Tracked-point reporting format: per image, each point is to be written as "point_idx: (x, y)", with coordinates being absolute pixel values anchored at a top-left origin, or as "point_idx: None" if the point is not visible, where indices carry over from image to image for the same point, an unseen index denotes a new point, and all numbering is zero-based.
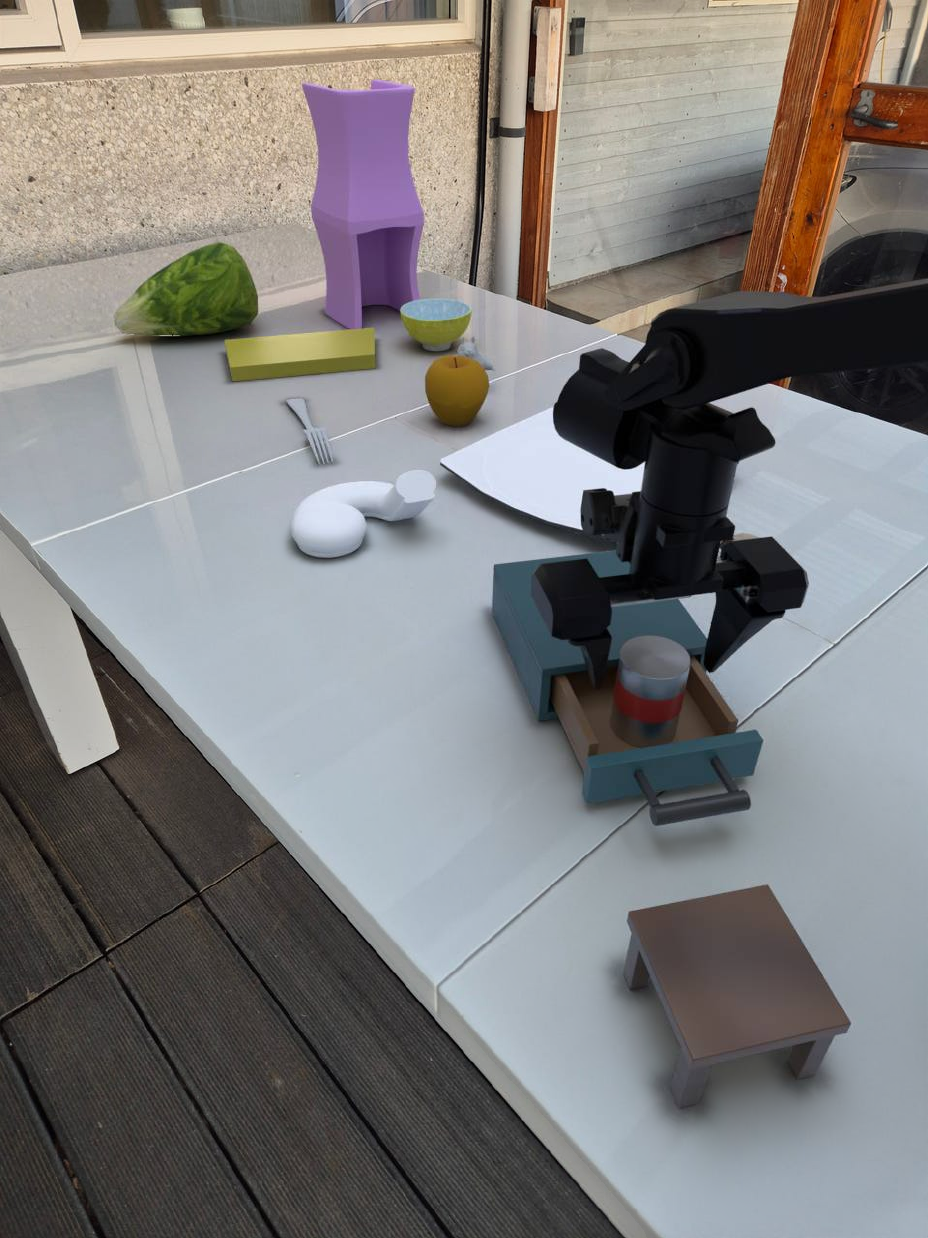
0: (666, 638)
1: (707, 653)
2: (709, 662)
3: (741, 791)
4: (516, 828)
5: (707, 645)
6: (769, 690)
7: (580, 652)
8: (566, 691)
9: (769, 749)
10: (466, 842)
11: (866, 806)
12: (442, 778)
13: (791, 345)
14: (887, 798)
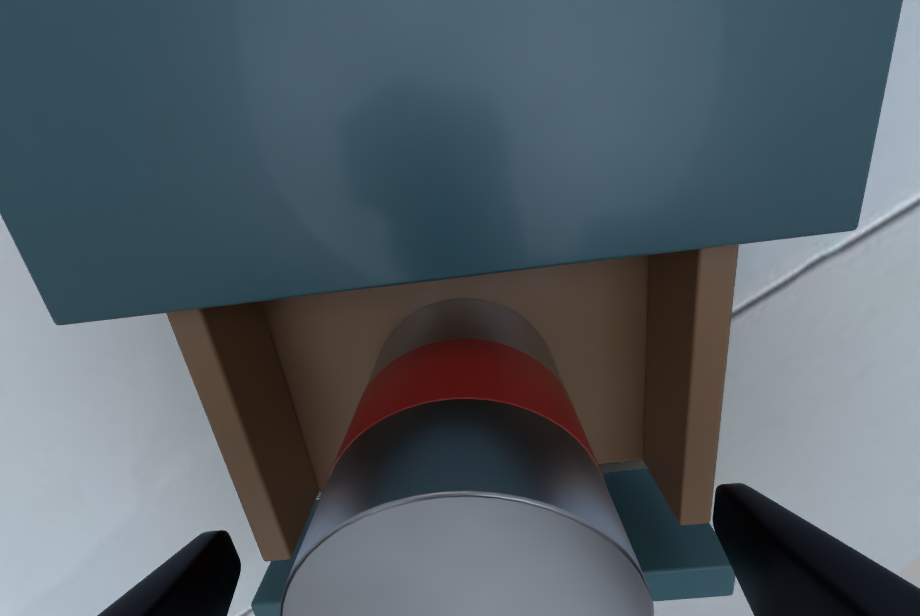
0: (585, 526)
1: (765, 558)
2: (742, 560)
3: None
4: (186, 522)
5: (798, 580)
6: (909, 184)
7: (215, 231)
8: (196, 372)
9: (758, 392)
10: (100, 539)
11: (845, 532)
12: (15, 408)
13: None
14: (899, 520)
